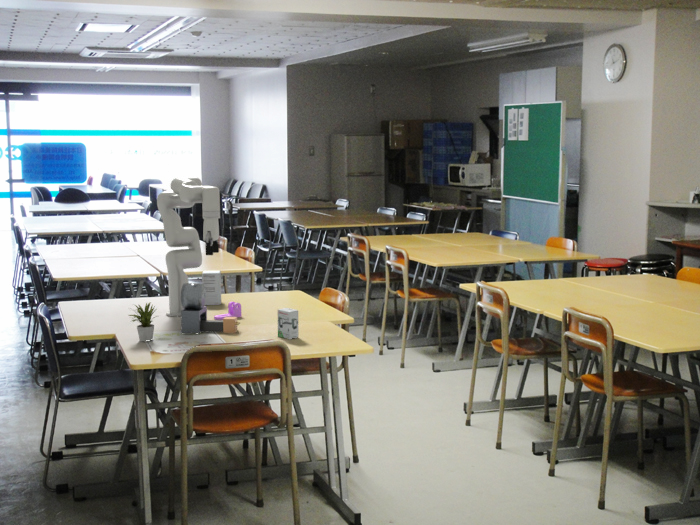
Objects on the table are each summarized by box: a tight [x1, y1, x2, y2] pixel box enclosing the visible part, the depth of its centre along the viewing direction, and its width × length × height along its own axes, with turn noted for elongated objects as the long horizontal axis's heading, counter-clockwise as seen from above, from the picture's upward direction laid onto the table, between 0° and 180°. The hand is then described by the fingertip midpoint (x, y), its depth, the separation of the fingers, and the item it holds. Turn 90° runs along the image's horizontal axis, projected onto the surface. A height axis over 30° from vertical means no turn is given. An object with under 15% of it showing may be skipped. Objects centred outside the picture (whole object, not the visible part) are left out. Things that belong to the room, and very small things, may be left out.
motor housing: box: [180, 282, 208, 335], centre depth 340 cm, size 12×8×21 cm, turn 175°
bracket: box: [213, 301, 242, 320], centre depth 371 cm, size 13×6×7 cm, turn 132°
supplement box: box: [201, 270, 222, 306], centre depth 409 cm, size 10×9×17 cm
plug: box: [200, 317, 241, 334], centre depth 341 cm, size 5×23×6 cm, turn 85°
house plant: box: [128, 302, 158, 342], centre depth 324 cm, size 14×14×16 cm
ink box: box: [277, 307, 299, 340], centre depth 327 cm, size 9×5×12 cm, turn 44°
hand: (212, 253), depth 344 cm, fingers open, 9 cm apart
